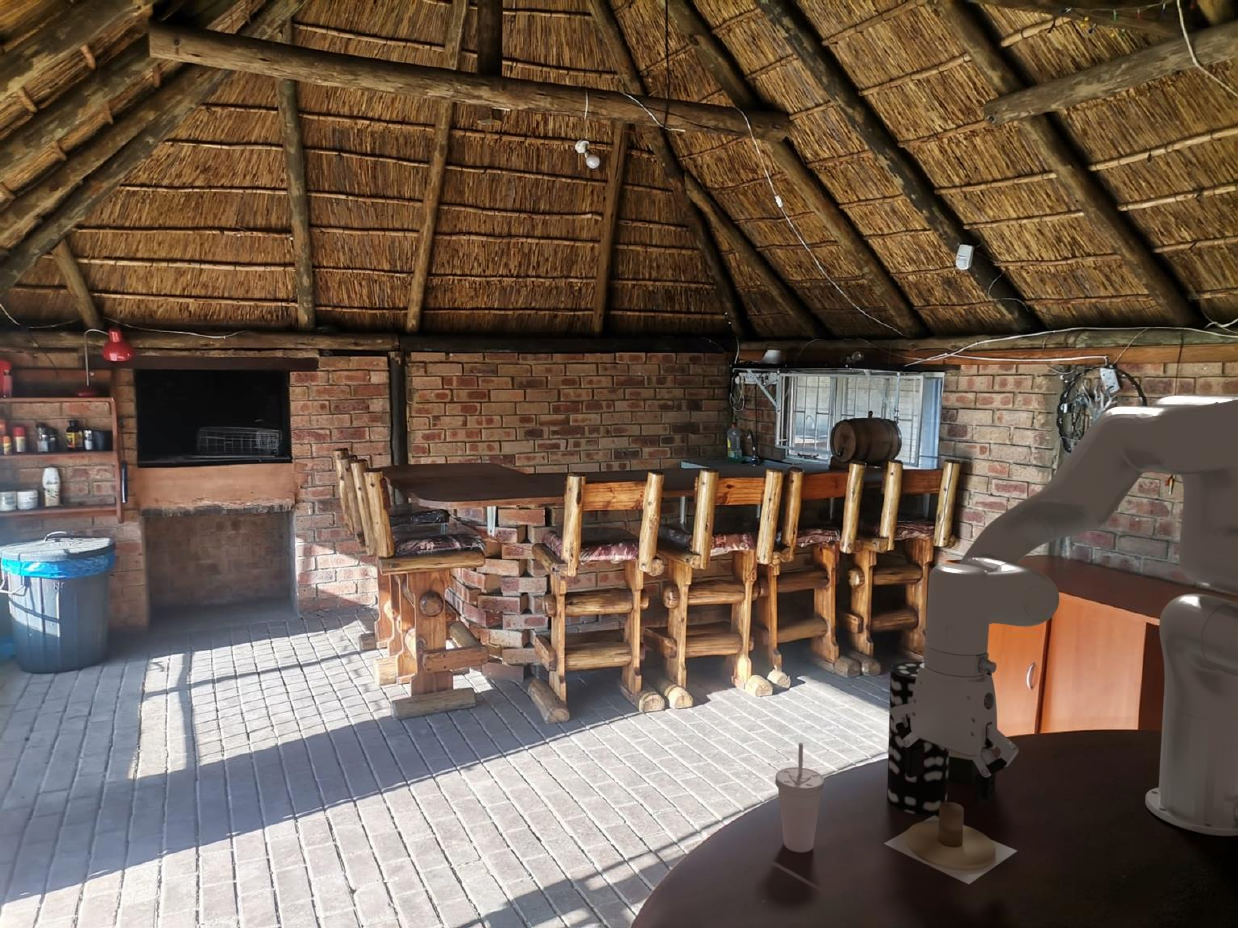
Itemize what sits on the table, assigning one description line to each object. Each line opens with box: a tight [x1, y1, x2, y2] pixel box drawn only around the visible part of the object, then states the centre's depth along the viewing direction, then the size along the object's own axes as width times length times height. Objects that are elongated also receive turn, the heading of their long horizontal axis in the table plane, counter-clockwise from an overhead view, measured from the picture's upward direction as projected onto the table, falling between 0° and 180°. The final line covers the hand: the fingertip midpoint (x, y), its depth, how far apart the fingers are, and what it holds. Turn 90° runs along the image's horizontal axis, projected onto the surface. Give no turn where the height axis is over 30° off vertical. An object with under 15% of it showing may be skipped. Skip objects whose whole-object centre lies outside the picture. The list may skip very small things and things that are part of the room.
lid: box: [906, 801, 996, 870], centre depth 113 cm, size 11×11×6 cm
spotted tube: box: [886, 661, 949, 816], centre depth 126 cm, size 8×8×20 cm
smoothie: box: [774, 742, 825, 853], centre depth 114 cm, size 6×6×14 cm
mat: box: [883, 815, 1018, 885], centre depth 114 cm, size 12×12×1 cm
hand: (947, 788), depth 113 cm, fingers open, 9 cm apart
